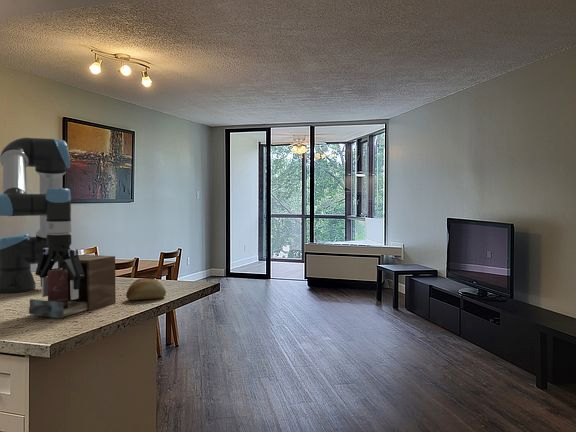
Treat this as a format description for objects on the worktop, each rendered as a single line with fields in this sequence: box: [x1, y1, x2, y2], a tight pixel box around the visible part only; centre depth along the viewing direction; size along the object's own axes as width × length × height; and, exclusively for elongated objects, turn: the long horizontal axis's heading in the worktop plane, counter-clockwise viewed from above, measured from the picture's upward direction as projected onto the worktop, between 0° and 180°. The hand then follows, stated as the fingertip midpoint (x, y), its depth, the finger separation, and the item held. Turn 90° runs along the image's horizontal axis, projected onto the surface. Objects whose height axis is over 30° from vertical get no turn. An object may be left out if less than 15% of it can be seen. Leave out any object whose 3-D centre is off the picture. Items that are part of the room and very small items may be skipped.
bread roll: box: [125, 277, 167, 301], centre depth 183 cm, size 10×15×8 cm, turn 121°
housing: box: [57, 254, 117, 312], centre depth 172 cm, size 14×13×18 cm
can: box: [47, 267, 68, 309], centre depth 160 cm, size 6×6×14 cm
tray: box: [28, 298, 88, 319], centre depth 159 cm, size 14×17×5 cm
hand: (60, 297), depth 161 cm, fingers open, 12 cm apart
